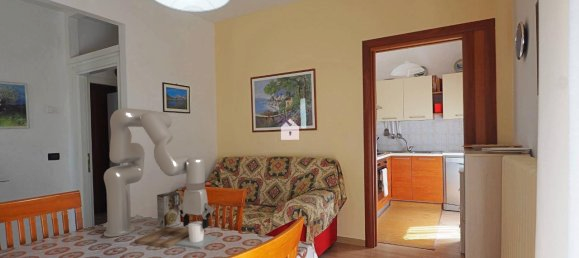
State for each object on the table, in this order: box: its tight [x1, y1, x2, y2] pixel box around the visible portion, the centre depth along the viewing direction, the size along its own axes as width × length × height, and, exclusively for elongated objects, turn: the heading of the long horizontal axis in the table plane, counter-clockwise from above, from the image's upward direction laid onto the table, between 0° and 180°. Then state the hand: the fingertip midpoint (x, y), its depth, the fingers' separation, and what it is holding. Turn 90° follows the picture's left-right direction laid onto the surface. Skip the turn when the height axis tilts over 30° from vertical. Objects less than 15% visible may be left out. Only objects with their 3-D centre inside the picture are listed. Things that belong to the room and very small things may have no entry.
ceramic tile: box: [175, 234, 218, 249], centre depth 124 cm, size 12×12×1 cm
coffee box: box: [156, 191, 181, 229], centre depth 147 cm, size 9×6×16 cm
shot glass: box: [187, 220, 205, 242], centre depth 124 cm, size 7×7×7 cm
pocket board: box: [134, 226, 189, 249], centre depth 129 cm, size 18×18×2 cm
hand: (195, 226), depth 124 cm, fingers open, 9 cm apart
